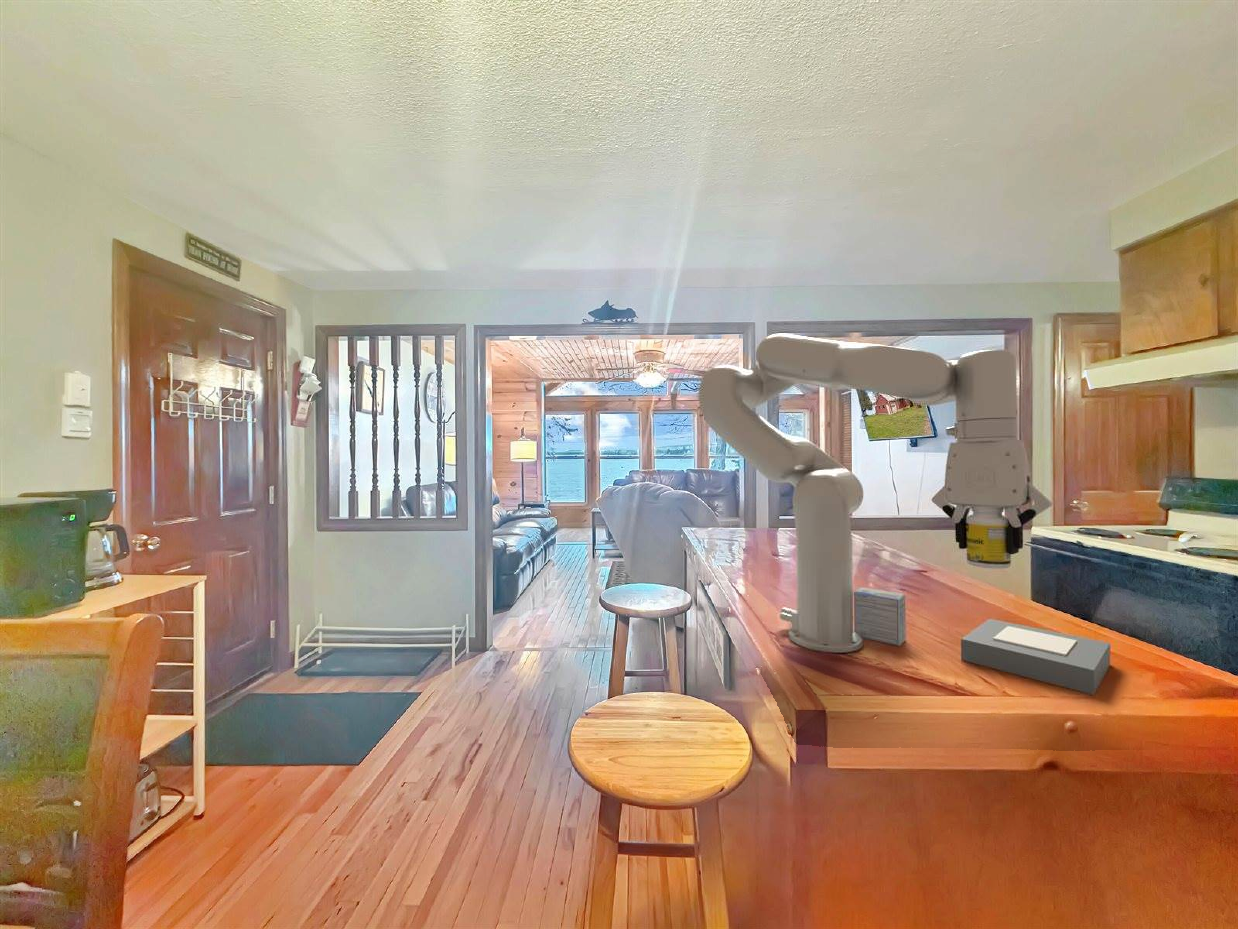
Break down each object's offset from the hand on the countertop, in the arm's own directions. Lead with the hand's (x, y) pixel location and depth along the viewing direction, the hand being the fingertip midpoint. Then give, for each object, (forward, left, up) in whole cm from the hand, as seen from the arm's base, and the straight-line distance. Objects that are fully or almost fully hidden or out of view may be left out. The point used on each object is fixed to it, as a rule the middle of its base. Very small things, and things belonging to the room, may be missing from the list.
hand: (988, 549), depth 75 cm
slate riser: (+3, +12, -20) cm, 23 cm away
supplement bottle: (0, 0, -3) cm, 3 cm away
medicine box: (-18, +4, -20) cm, 27 cm away
